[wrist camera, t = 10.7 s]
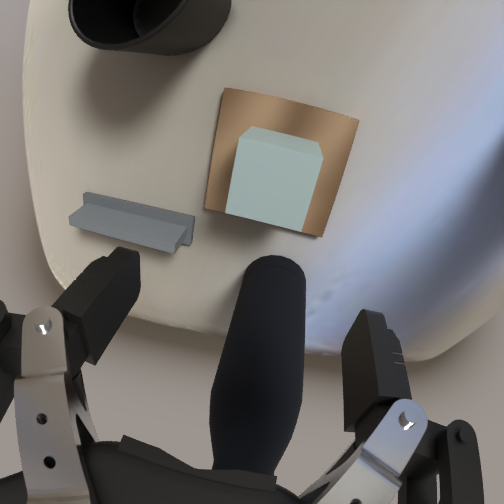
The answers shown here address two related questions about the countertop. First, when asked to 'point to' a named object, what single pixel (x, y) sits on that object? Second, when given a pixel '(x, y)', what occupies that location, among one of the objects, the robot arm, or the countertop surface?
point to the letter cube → (274, 177)
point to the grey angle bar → (134, 222)
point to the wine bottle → (260, 369)
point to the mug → (148, 24)
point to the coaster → (288, 122)
